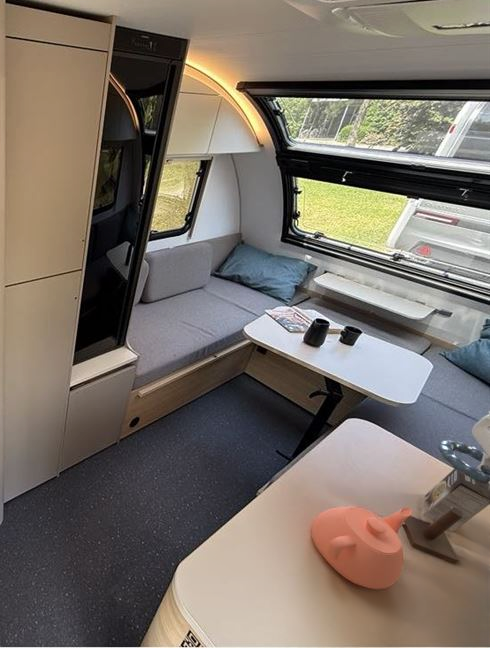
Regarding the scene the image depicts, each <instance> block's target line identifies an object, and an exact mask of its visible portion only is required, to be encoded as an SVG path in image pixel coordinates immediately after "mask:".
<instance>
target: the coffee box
mask: <svg viewBox="0 0 490 648" xmlns="http://www.w3.org/2000/svg"><path fill="white" fill-rule="evenodd" d="M489 505H490V486H489V485H487V484H484V483H481V482H478V481H475V480H473V479H472V478H470V477H468V476H466V475H464V474H463V473H461V472H459V471H458V470H456V469H455V468H453V469H452V470H451V471H450V472H449V473H448V474H446V476H444V478H442V479H441V480H440V481H439V482H438V483H437V484H436V485H434V486H433V487H432V488H431V490H429V491H428V492H427V493H426V494H425V495H424V499H423V508H422V509H423V510H422V515H423V516H425V517H426V518H428V519H430V520H432V521H433V522H434V521H435V520H437V519H438V518H439V517H440V516H441V515H443V514H444V513H445V512H446V511H447V510H449V509H450V508H451V507H454V508H457V509H459V510H460V511H461V512H462V513H463V514H464V517H463V518H461V519H460V520H459V521H458V522H456V523H455V524H454V525H452V526H451V527H450V528H449V529H447V531H450V532H452V533H453V532H455V531H456V530H458V529H459V528H460V527H462V526H463V525H464V524H466V523H467V522H468V521H469V520H471V519H472V518H474V517H475V516H476V515H478V514H479V513H480V512H482V511H483V510H484V509H486V508H487V507H488V506H489Z"/></svg>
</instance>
